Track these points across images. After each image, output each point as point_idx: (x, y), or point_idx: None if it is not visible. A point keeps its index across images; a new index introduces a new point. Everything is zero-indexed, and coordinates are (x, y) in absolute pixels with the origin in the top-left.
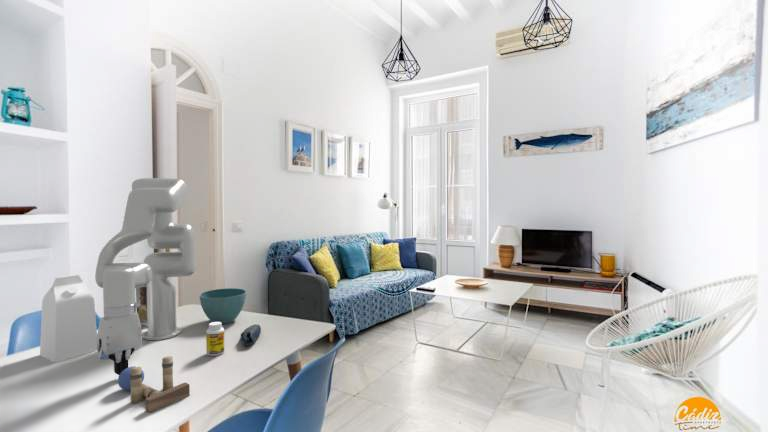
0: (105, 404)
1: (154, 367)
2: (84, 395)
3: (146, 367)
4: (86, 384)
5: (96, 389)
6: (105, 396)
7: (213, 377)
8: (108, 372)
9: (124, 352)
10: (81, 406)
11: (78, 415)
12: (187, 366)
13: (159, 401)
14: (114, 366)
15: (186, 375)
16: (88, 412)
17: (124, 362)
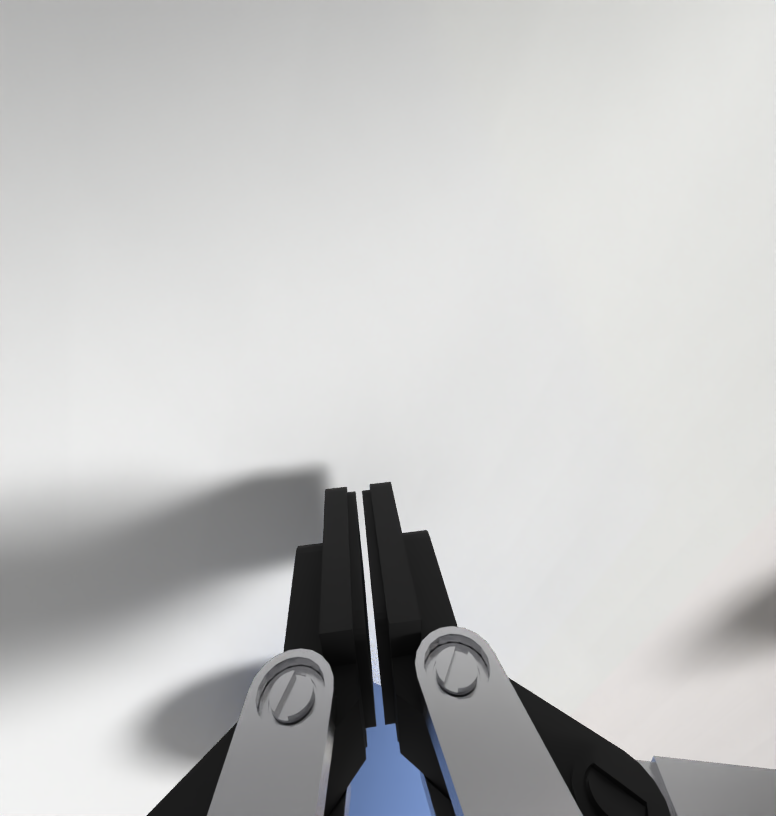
0: (161, 766)
1: (648, 463)
2: (35, 592)
3: (621, 408)
4: (50, 367)
5: (135, 551)
6: (178, 688)
7: None
8: (327, 190)
9: (488, 768)
10: (20, 723)
11: (8, 795)
12: (739, 611)
13: None
14: (291, 608)
15: (628, 709)
16: (63, 793)
17: (390, 715)
